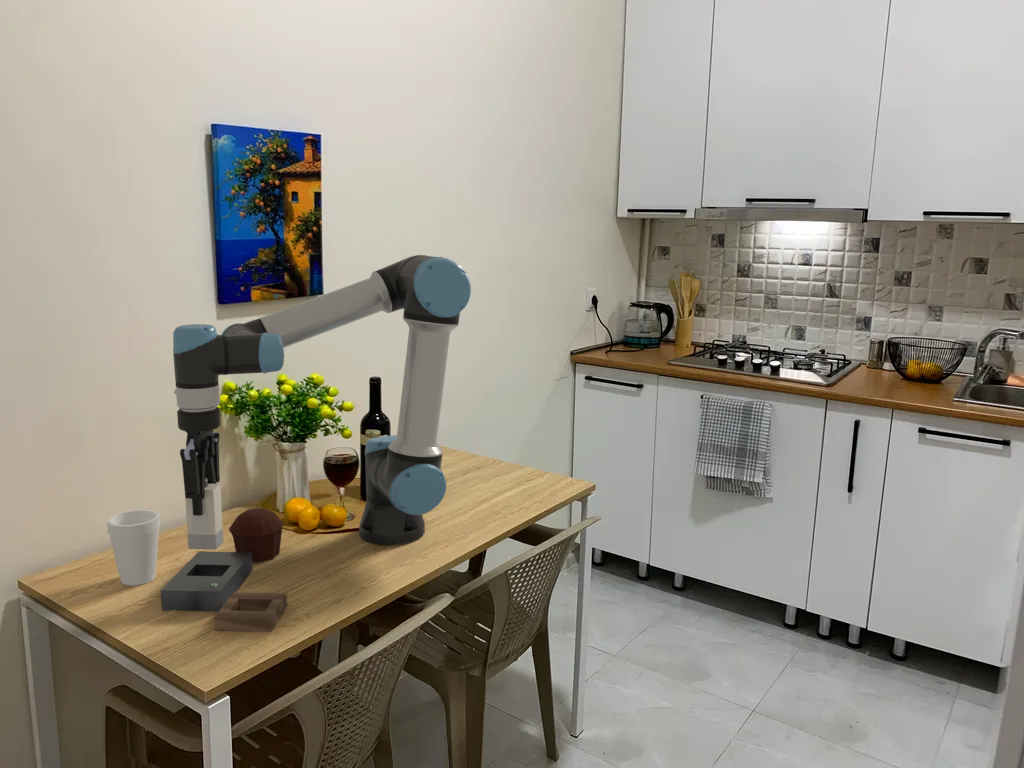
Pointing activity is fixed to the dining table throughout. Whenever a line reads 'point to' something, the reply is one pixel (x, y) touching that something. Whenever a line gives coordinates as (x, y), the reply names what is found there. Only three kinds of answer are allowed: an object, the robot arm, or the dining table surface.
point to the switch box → (206, 581)
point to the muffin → (257, 534)
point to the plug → (215, 531)
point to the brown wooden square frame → (251, 612)
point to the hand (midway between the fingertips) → (205, 525)
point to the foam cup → (135, 544)
